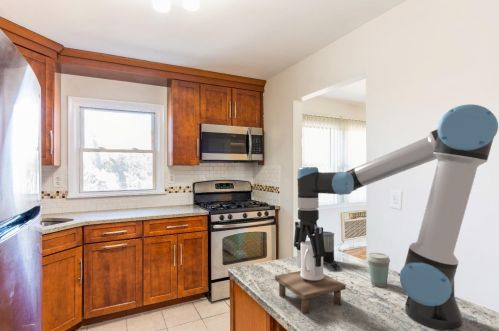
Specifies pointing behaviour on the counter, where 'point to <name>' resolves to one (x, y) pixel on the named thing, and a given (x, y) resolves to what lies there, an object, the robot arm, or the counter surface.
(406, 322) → the counter surface
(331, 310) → the counter surface
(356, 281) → the counter surface
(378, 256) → the coffee cup
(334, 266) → the milk frother
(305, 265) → the mug
